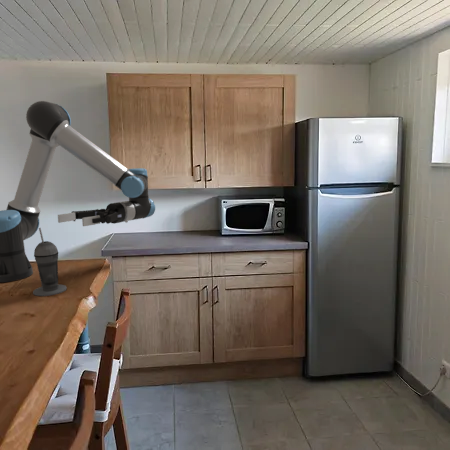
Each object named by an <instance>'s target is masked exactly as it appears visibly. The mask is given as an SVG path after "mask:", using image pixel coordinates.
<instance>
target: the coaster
mask: <svg viewBox="0 0 450 450" xmlns="http://www.w3.org/2000/svg"><path fill="white" fill-rule="evenodd" d="M67 288H68V287H67V285H65V284H62V283H61V284H60V283H58V289H57V290H54V291H49V292H46V291H43V288H42V286H39V287H36V288H35V289H33V291H32V295H34V296H35V297H49V296H55V295H58V294H62V293H64V292H65V291H67Z"/></svg>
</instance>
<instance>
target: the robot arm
mask: <svg viewBox="0 0 450 450" xmlns="http://www.w3.org/2000/svg"><path fill="white" fill-rule="evenodd" d="M25 115H26V117H25V119H26V122H27V125H28V127H29V128H30V130H29V136H30V137H31V143H30V147H29V149H28V153H27V157H26V158H25V162H24V166H23V168H22V173H21V175H20V178H19V182H18V185H17V188H16V192H15V195H14V198H13V200H10V201H8V204H7V207H6V209H3V210H0V283H9V282H15V281H18V280H19V281H20V280H22V279H25V278H28V277H30V276H32V275H33V273H34V270H33V266H32V263H31V262H30V260H29V259H28V257H27V254H26V251H25V250H26V249H25V243H24V241H25V240H28V239H29V238H31V237H33V236H34V235H35V234H36V233H37V231H39V228H40V218H39V217H40V214H41V209H40V208H39V203H40V199H41V196H42V193H43V191H44V190H43V189H44V186H45V184H46V180H47V178H48V177H47V176H48V173H49V171H50V168H51V163H52V161H53V158H54V154H55V152H56V148H57V147H59V146H60V147H61V148H63V149H64V150H66V151H67V152H68V153H69V154H71V155H72V156H74V157H76V158H77V159H78V160H79V161H81V162H82V163H83V164H85V165H86V166H88V167H89V168H90V169H92V170H93V171H95V172H96V173H97V174H99V175H100V176H101V177H103V178H104V179H105V180H107V181H108V182H109V183H111V184H112V185H114V186H115V187H116V188H117V189H119V190H120V191H121V192H122V194H123V195H124V196H126V197H127V198H128V200H125V201H118V202H110V203H108V204H107V206H106V208H101V209H99V208H97V209H90V210H88V209H87V210H78V211H77V210H75V211H74V210H73V211H72V210H71V212H67V213H61V214H57V222H58V223H59V224H60V223H61V224H62V223H65V222H71V221H72V222H76V221H77V220H81V222H82V227H88V226H95V225H99V224H105V223H106V224H107V225H109V224H112V225H113V224H120V223H124V222H125V223H126V224H127V223H128V221H134V220H135V221H137V220H140V219H146V218H150V217H152V216H153V215H154V214H155V213H156V205H155V202H154V201H153V199H151V198H150V197H149V183H148V182H149V181H148V179H149V176H148V169H146V168H144V167H143V168H140V167H139V168H127V167H126V166H124V164H121V163H120V162H119V161H118V160H117V159H115V158H114V157H113V156H111V155H109V153H107V152H105V151H104V149H102V148H100V147H99V146H98V145H96V144H95V143H94V142H92V141H91V140H90V139H88V138H87V137H85V136H84V135H83V134H82V133H80V132H79V131H78V130H76V129H75V128H73V127H72V126H71V125H72V119H71V116H70V114H69V112H68V111H67V110H66V109H65V108H64V107H63V106H62V105H60V104H58V103H55V102H54V103H53V102H49V101H45V100H39V101H35V102H34V103H32V104H31V105H30V106H29V107H28V108H27V111H26V114H25Z"/></svg>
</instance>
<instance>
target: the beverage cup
mask: <svg viewBox="0 0 450 450" xmlns="http://www.w3.org/2000/svg"><path fill="white" fill-rule="evenodd" d="M38 231H39V234H40V239H41V242H39V243H38V244H37V245H36V246H35V247H34V251H33V252H34V253H33V258H34V260H35V262H36V265H37V270H38V275H39V279H40V284H41V287H42V288H43V291H46V292H49V291H54V290H57V289H58V284H59V267H58V266H59V265H58V263H59V262H58V260H59V251H58V248H57V245H56V244H54V243H53V242H52V241H47V240H45V241H44V236H43V232H42V229H41V227H38Z"/></svg>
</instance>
